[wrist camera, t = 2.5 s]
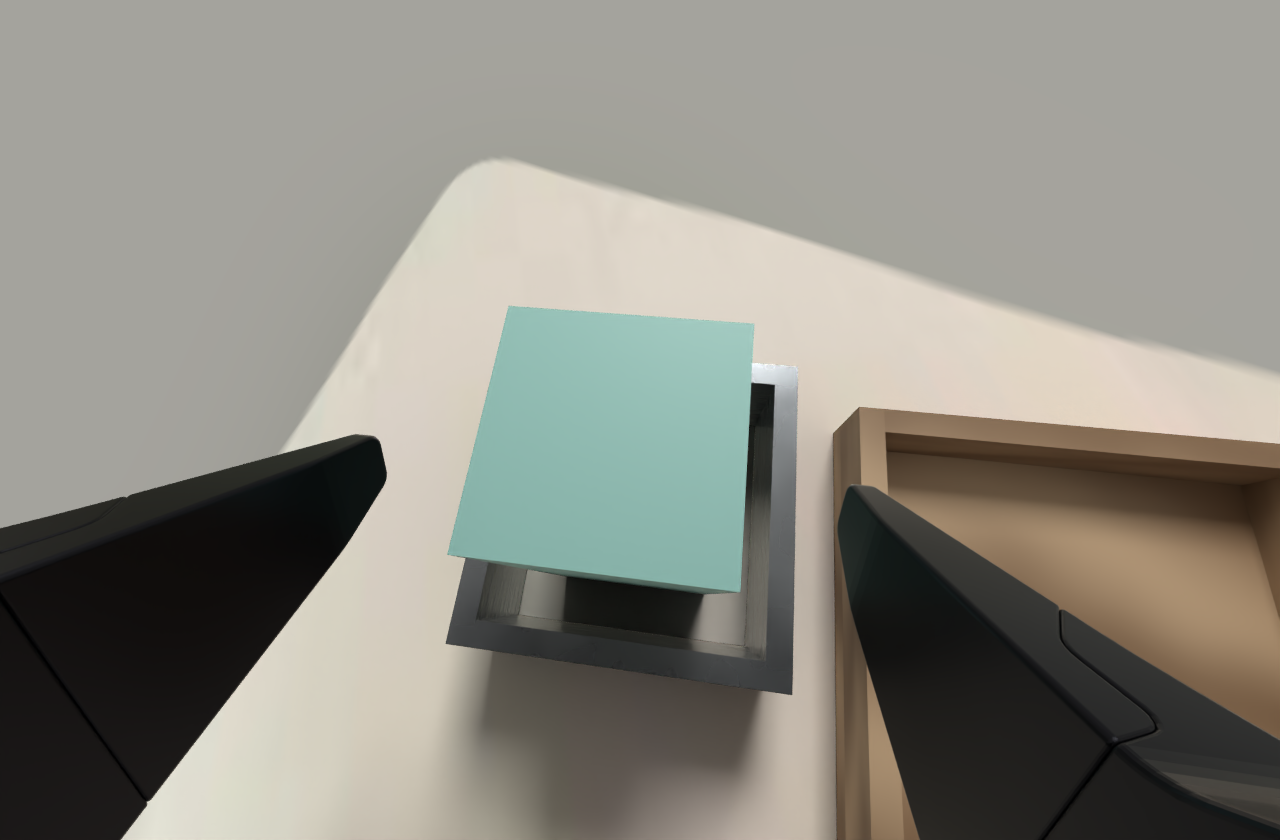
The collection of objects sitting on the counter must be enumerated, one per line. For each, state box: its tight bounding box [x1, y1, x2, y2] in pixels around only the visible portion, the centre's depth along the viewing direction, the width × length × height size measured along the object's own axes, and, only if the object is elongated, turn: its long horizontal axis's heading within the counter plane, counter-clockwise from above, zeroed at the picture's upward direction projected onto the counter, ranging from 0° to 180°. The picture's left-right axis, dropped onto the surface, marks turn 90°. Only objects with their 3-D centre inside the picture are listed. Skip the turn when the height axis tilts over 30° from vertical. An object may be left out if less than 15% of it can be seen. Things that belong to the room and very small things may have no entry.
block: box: [447, 306, 754, 594], centre depth 14 cm, size 5×5×10 cm
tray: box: [833, 407, 1280, 840], centre depth 15 cm, size 14×14×3 cm
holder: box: [446, 363, 798, 695], centre depth 16 cm, size 9×9×4 cm
